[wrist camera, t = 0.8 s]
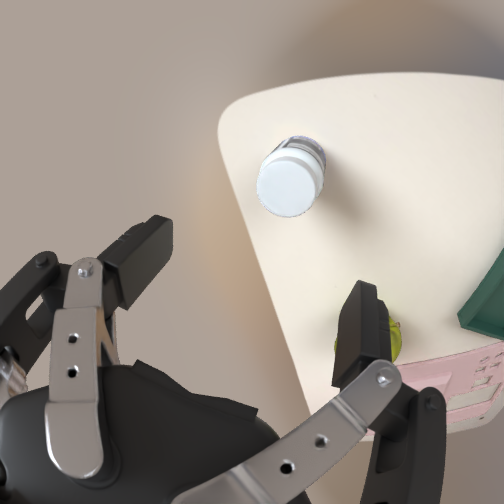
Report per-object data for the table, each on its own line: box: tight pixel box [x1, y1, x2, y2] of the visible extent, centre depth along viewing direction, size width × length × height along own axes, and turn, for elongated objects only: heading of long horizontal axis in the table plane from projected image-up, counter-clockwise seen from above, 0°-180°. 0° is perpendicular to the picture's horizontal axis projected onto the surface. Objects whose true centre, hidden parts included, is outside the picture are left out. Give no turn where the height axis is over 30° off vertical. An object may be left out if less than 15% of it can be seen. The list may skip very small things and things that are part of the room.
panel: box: [365, 341, 504, 436], centre depth 38 cm, size 35×33×2 cm
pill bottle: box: [256, 136, 326, 217], centre depth 21 cm, size 5×5×8 cm
